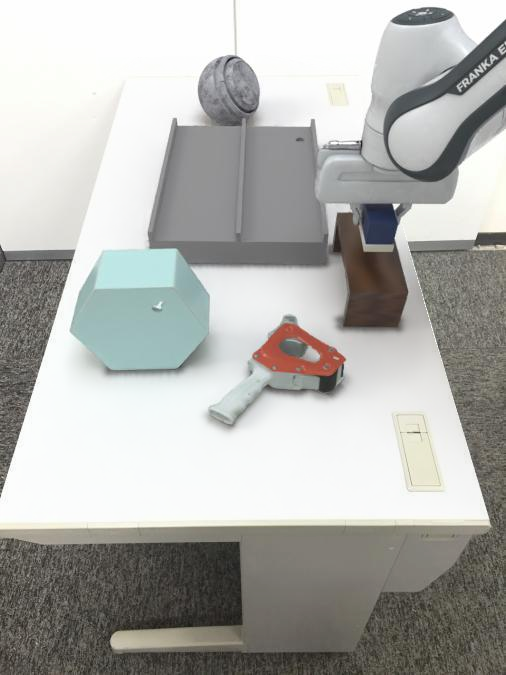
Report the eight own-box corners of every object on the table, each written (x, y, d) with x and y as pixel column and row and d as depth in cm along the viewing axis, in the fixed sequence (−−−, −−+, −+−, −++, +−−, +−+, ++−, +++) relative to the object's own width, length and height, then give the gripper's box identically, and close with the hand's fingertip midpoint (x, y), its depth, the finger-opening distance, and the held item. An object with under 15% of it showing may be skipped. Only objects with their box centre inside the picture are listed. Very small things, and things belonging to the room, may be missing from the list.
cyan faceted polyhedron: (165, 349, 90) (229, 271, 77) (161, 386, 85) (229, 310, 72) (66, 314, 83) (119, 221, 70) (56, 353, 77) (111, 261, 65)
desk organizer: (152, 262, 97) (147, 232, 92) (176, 146, 123) (172, 117, 118) (324, 264, 97) (329, 234, 92) (312, 147, 123) (315, 118, 118)
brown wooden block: (379, 247, 100) (387, 212, 94) (398, 327, 87) (409, 292, 81) (331, 247, 100) (337, 212, 94) (343, 326, 87) (350, 292, 81)
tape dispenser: (210, 433, 76) (351, 427, 75) (205, 414, 72) (354, 408, 71) (214, 335, 87) (337, 329, 86) (210, 314, 83) (339, 308, 82)
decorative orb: (243, 142, 124) (242, 76, 113) (189, 128, 128) (183, 64, 117) (268, 113, 133) (270, 50, 122) (217, 102, 137) (214, 39, 126)
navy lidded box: (392, 252, 82) (399, 225, 78) (363, 251, 82) (369, 225, 78) (382, 212, 88) (388, 186, 84) (355, 211, 88) (360, 185, 84)
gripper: (319, 153, 71) (310, 235, 81) (473, 154, 71) (444, 236, 81) (316, 129, 75) (308, 210, 86) (461, 129, 75) (435, 210, 86)
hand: (375, 222), depth 84 cm, fingers closed on navy lidded box, 4 cm apart
